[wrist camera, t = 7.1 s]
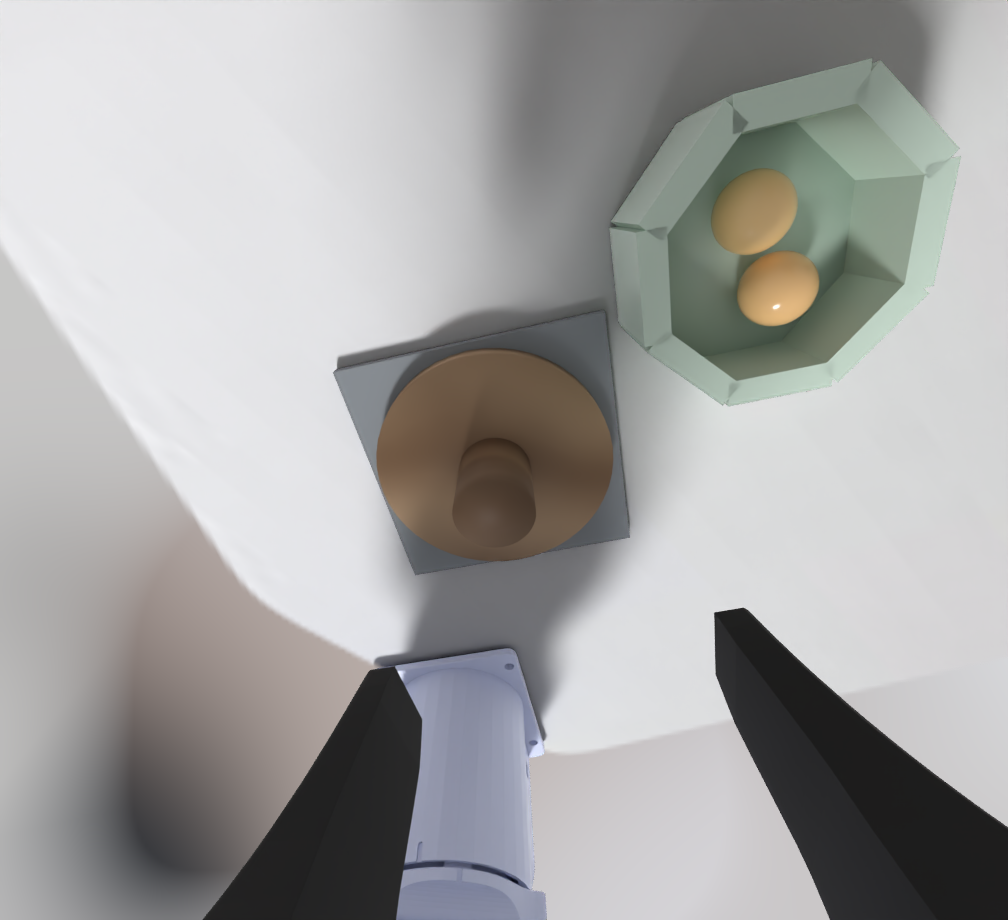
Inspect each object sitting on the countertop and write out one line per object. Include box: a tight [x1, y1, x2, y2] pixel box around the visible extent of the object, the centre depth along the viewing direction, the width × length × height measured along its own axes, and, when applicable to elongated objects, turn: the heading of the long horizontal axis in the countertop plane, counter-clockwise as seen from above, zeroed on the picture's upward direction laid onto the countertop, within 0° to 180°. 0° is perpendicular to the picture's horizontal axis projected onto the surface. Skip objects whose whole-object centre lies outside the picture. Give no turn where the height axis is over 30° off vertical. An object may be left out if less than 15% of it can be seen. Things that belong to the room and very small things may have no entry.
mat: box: [333, 310, 630, 575], centre depth 19 cm, size 10×10×1 cm
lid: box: [376, 348, 613, 561], centre depth 17 cm, size 9×9×4 cm
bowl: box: [609, 58, 961, 406], centre depth 14 cm, size 8×8×3 cm
